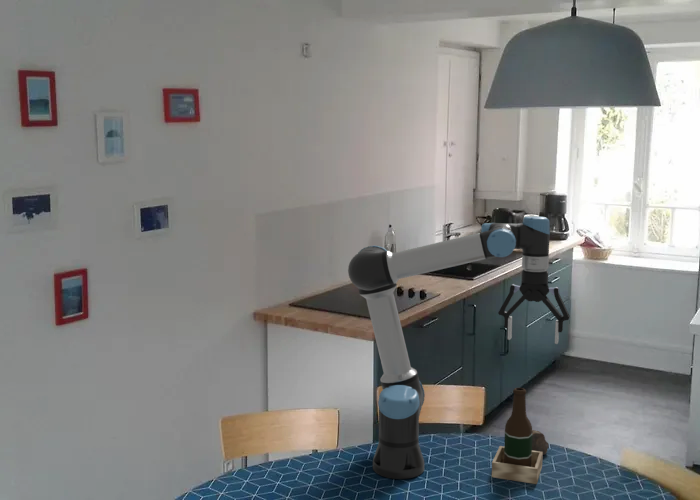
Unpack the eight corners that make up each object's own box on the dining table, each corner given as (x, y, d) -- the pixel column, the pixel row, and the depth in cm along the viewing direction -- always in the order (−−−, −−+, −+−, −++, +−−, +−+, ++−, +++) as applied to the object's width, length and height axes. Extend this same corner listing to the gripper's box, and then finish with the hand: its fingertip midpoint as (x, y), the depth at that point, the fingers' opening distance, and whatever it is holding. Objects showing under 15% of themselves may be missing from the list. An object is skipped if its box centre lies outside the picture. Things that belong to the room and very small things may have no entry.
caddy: (491, 477, 213) (492, 462, 212) (499, 459, 224) (499, 445, 224) (536, 484, 208) (537, 469, 208) (542, 466, 220) (542, 451, 219)
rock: (556, 459, 227) (537, 447, 237) (559, 432, 226) (540, 420, 236) (514, 462, 222) (497, 449, 232) (517, 434, 221) (500, 423, 231)
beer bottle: (531, 475, 212) (534, 394, 209) (504, 473, 214) (506, 392, 210) (530, 463, 220) (532, 385, 216) (503, 461, 221) (505, 383, 218)
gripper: (489, 269, 218) (488, 339, 221) (578, 274, 209) (575, 347, 212) (494, 265, 225) (492, 334, 228) (580, 270, 216) (577, 341, 219)
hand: (532, 340), depth 220 cm, fingers open, 13 cm apart
